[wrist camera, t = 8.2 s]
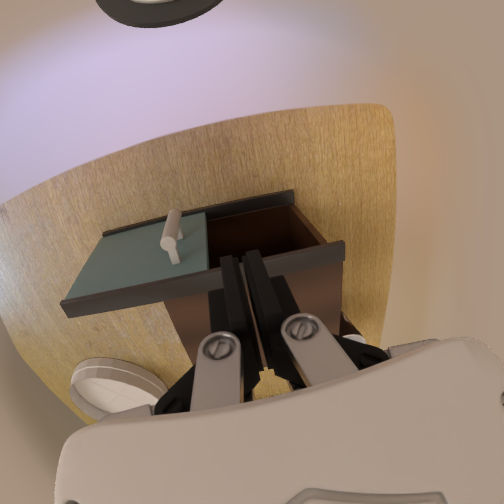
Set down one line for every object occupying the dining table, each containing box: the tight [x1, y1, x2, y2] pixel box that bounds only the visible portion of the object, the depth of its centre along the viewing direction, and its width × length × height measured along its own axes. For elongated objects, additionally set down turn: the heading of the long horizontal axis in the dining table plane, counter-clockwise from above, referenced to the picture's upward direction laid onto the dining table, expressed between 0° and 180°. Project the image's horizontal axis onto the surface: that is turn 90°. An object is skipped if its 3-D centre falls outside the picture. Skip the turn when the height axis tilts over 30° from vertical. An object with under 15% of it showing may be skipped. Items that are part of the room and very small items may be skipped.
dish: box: [69, 357, 168, 421], centre depth 48 cm, size 22×22×5 cm
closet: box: [60, 189, 345, 367], centre depth 32 cm, size 13×26×16 cm, turn 99°
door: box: [65, 208, 209, 300], centre depth 28 cm, size 4×15×14 cm, turn 99°
